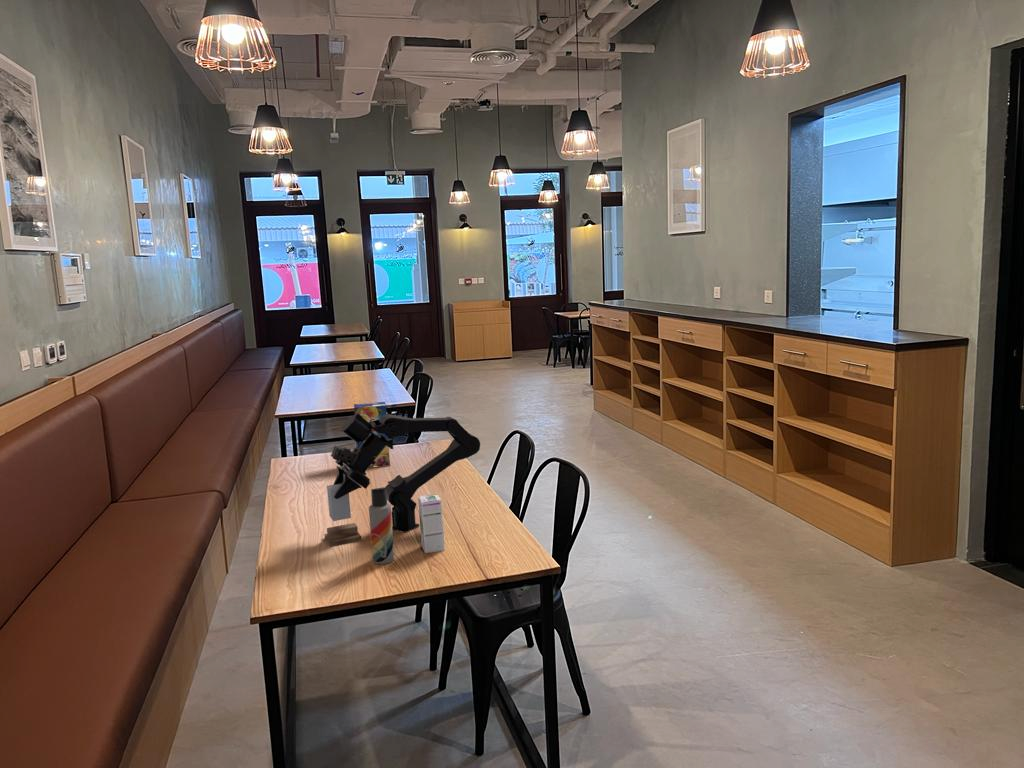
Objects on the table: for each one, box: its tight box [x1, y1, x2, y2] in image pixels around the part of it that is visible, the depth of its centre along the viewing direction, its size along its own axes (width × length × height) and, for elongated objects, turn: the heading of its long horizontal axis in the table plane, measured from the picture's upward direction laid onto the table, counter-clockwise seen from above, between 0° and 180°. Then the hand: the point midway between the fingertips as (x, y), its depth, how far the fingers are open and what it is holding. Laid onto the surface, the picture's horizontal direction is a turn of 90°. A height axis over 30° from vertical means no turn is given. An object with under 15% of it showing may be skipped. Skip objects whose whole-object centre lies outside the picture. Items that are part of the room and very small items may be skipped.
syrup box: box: [417, 494, 446, 554], centre depth 204 cm, size 6×6×14 cm
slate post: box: [326, 483, 352, 522], centre depth 212 cm, size 5×5×9 cm
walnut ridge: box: [323, 522, 362, 547], centre depth 214 cm, size 9×7×4 cm
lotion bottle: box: [368, 486, 395, 565], centre depth 196 cm, size 6×6×20 cm
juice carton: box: [353, 401, 391, 468], centre depth 290 cm, size 12×8×24 cm, turn 104°
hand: (333, 495), depth 211 cm, fingers closed on slate post, 5 cm apart
